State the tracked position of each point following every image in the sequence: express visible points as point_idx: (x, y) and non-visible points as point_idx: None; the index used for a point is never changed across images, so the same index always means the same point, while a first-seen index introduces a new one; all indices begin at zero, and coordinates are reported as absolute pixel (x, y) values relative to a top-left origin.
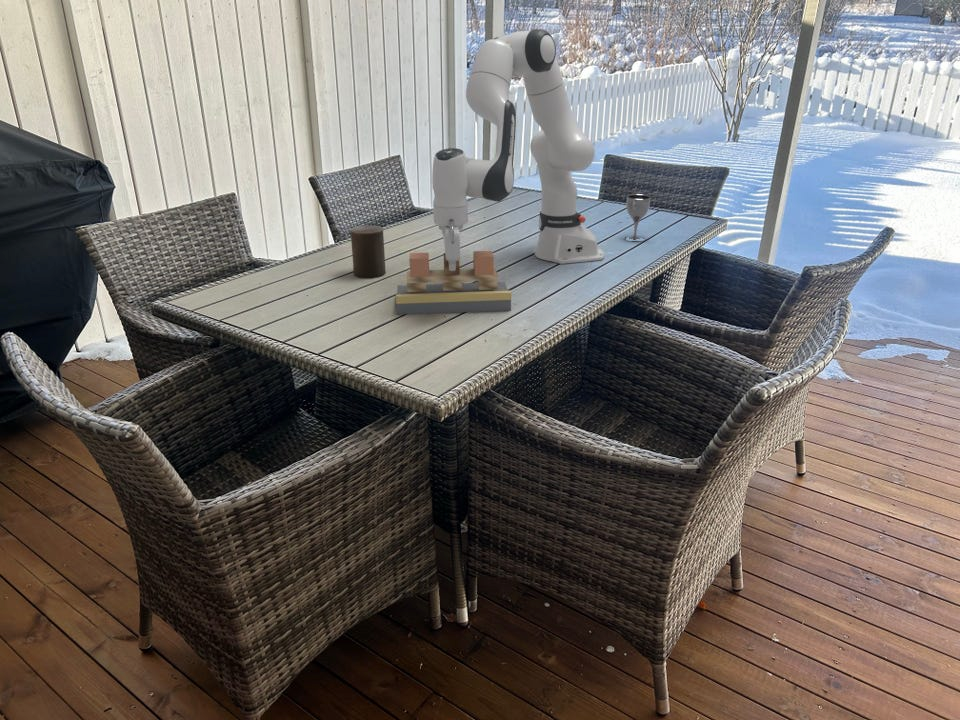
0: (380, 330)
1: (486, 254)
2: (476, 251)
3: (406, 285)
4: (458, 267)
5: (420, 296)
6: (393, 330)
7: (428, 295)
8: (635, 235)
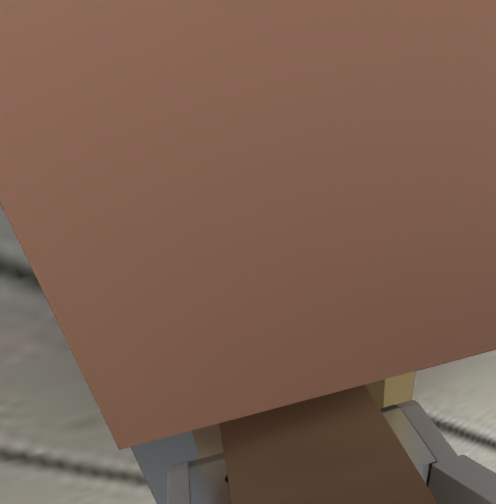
0: (480, 417)
1: (440, 33)
2: (115, 388)
3: (160, 499)
4: (368, 397)
5: None
6: (491, 388)
7: (412, 393)
8: None
